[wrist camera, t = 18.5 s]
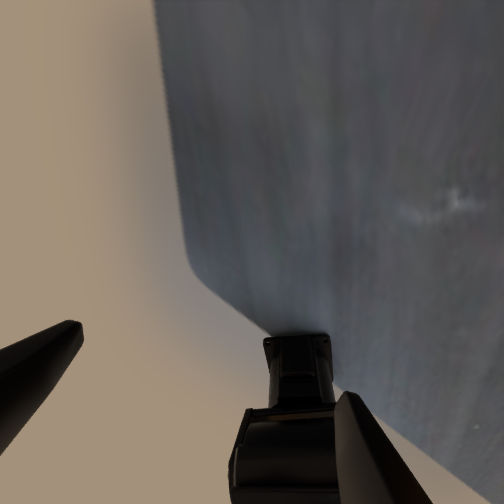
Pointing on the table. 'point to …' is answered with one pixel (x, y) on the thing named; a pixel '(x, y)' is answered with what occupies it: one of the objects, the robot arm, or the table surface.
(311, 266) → the table surface
